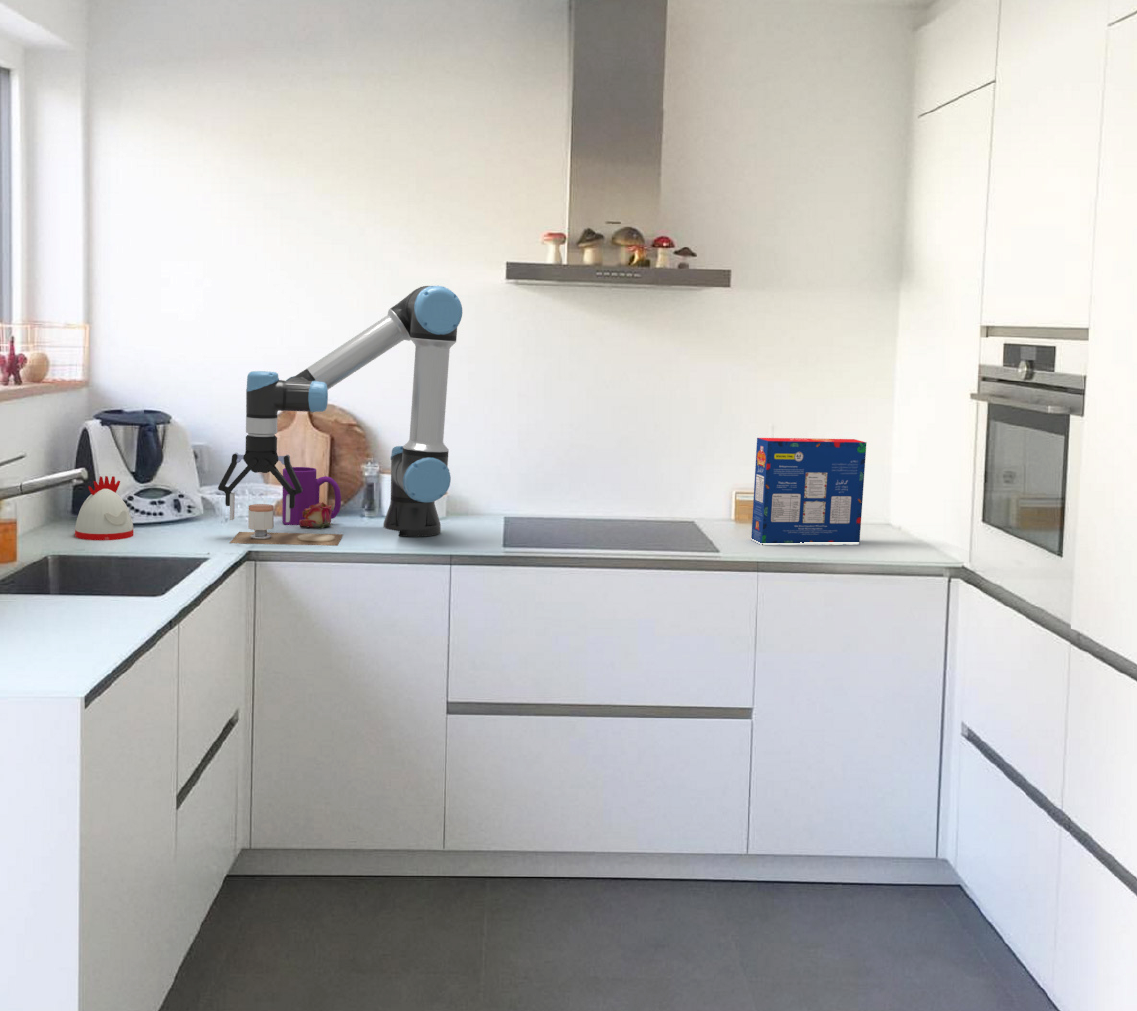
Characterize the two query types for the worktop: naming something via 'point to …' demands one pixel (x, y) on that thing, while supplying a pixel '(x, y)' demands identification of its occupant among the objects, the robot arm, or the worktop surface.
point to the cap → (261, 517)
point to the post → (260, 535)
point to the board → (282, 539)
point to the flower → (317, 516)
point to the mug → (307, 493)
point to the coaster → (316, 537)
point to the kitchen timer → (104, 514)
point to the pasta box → (808, 490)
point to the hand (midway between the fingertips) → (260, 520)
